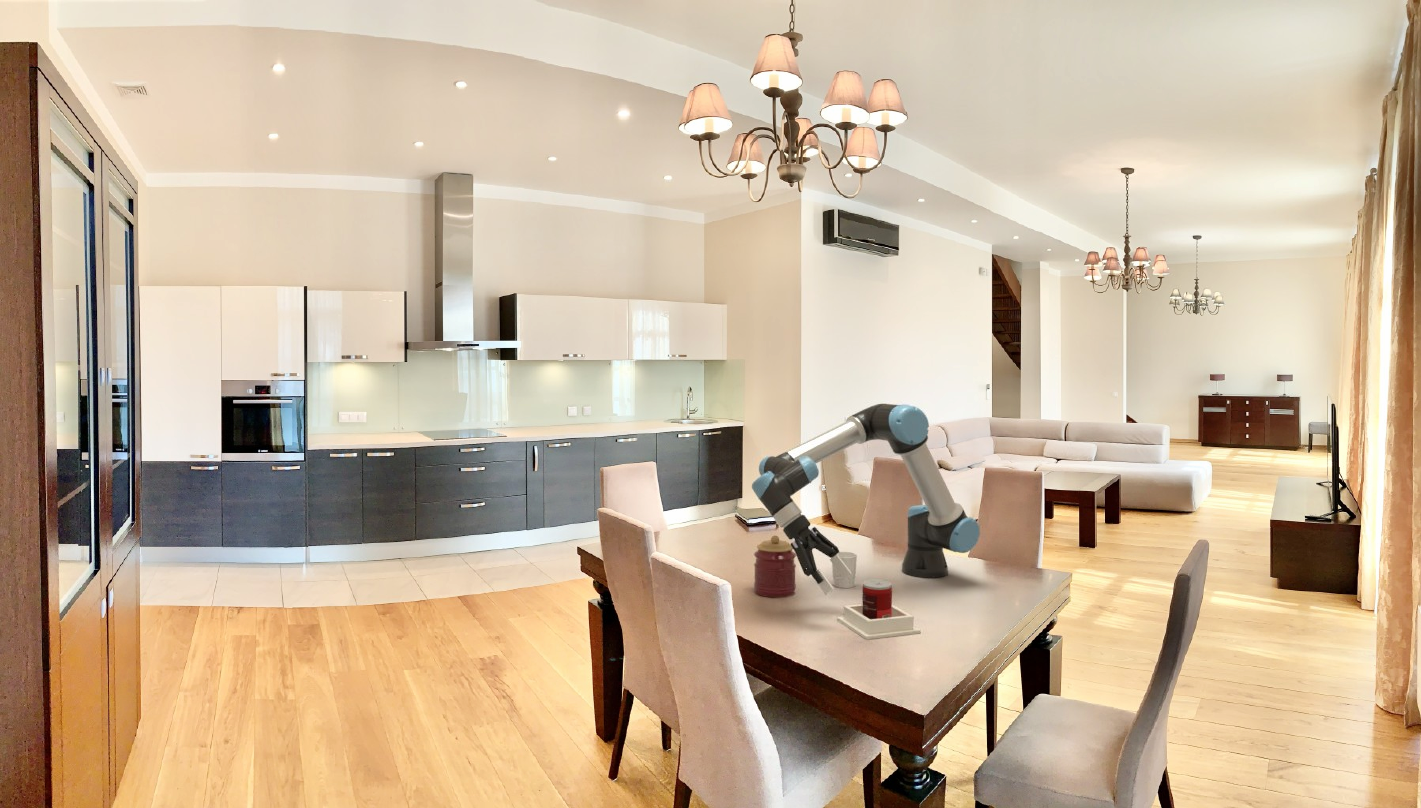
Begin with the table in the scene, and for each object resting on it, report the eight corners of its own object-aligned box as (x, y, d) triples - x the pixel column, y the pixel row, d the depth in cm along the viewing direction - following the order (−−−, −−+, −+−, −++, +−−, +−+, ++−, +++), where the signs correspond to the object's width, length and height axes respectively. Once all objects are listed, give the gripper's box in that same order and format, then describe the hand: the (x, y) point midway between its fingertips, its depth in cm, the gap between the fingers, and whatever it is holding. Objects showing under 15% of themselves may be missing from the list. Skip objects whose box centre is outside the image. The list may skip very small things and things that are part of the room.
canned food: (892, 620, 207) (893, 580, 207) (890, 629, 200) (890, 588, 199) (864, 617, 210) (864, 578, 209) (860, 626, 202) (860, 585, 202)
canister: (802, 596, 232) (802, 538, 231) (762, 599, 229) (762, 541, 228) (786, 584, 245) (786, 530, 244) (748, 587, 241) (748, 532, 240)
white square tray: (888, 614, 215) (888, 599, 215) (920, 633, 200) (920, 617, 200) (837, 620, 210) (837, 604, 210) (866, 639, 195) (866, 623, 195)
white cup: (856, 589, 239) (856, 558, 239) (830, 588, 241) (831, 556, 240) (856, 582, 247) (856, 552, 247) (832, 581, 249) (832, 550, 248)
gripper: (800, 517, 228) (845, 575, 223) (764, 540, 207) (812, 605, 202) (818, 503, 225) (863, 562, 220) (782, 525, 203) (832, 591, 199)
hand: (839, 583), depth 211 cm, fingers open, 13 cm apart
